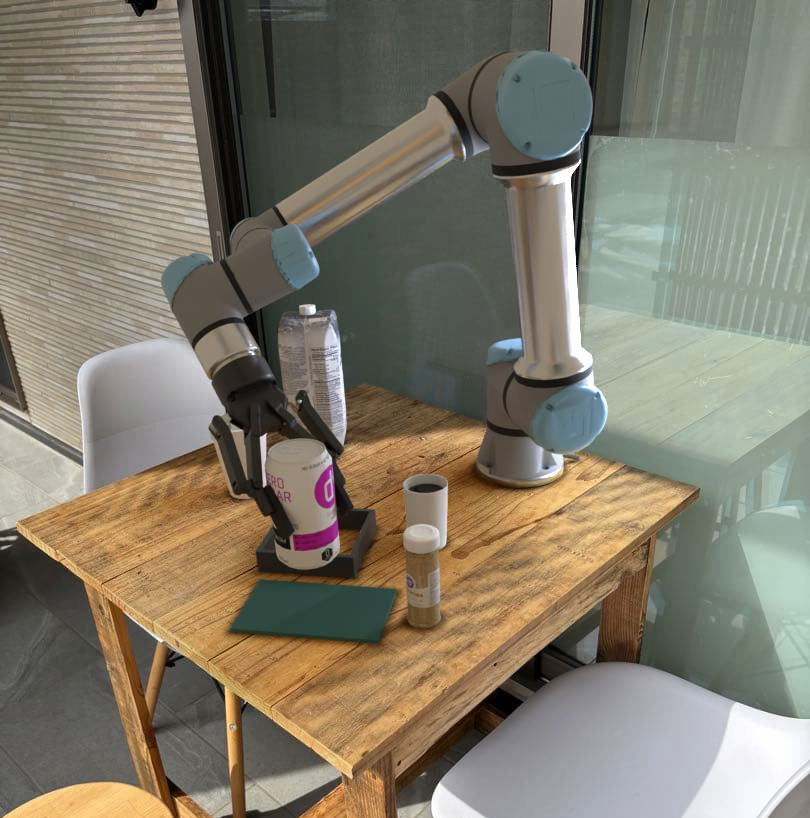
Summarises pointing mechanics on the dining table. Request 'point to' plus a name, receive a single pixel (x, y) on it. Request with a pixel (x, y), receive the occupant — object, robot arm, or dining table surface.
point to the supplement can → (304, 502)
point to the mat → (316, 611)
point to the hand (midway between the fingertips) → (319, 523)
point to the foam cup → (241, 450)
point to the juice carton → (314, 363)
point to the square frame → (342, 562)
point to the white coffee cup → (427, 502)
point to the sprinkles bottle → (422, 575)
